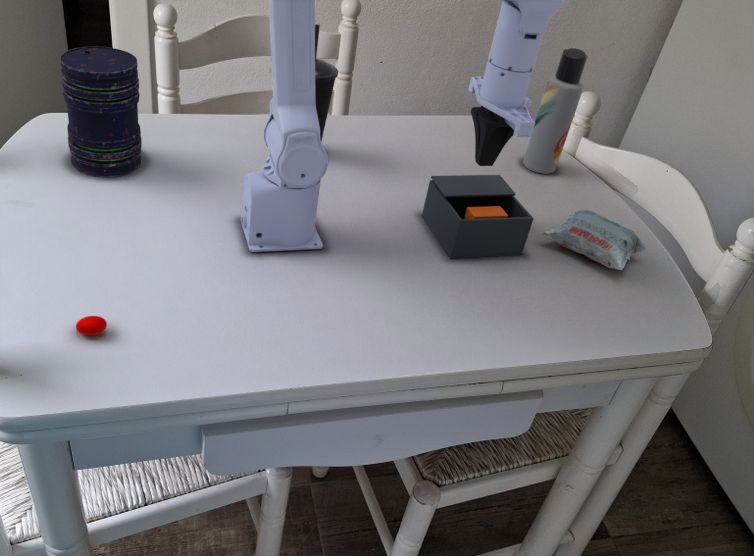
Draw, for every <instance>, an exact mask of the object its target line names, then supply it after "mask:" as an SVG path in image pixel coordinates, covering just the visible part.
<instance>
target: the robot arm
mask: <svg viewBox="0 0 754 556" xmlns="http://www.w3.org/2000/svg"><path fill="white" fill-rule="evenodd" d="M315 1H316V0H268V19H269V20H268V21H269V22H268V23H269V39H270V40H269V42H270V65H271V85H272V98H271V99H270V100H269V114H268V118H267V120H266V122H265V124H264V126H263V133H262V135H263V136H262V137H263V141H264V143H265V146H266V147H267V148H268V151H269V155H268V156H267V158H266V160H265V162H264V164H263V167H262V168H261V169H258V170H255V171H251V172H246V173H244V176H243V183H242V197H241V198H242V200H241V216H240V223H241V227H242V230H243V233H244V237H245V240H246V244H247V247H248V249H249V252H252V253H260V252H261V253H262V252H279V251H280V252H282V251H283V252H284V251H298V250H299V251H303V250H320V249H323V247H324V244H323V242H322V239H321V237H320V235H319V233H318V230H317V228H316V222H317V213H318V206H319V205H318V204H319V198H320V188H321V181H322V179H323V177H324V176H325V174H326V173H327V170H328V169H329V167H328V166H329V156H328V153H327V151H326V148H325V147H324V146H323V143H322V142H321V140H320V126H319V121H318V116H317V111H316V105H315V24H316V12H315V11H316V7H315V5H316V4H315V3H316V2H315ZM501 1H502V3H501V6H500V10H499V15H498V18H497V22H496V27H495V30H494V34H493V39H492V41H491V47H490V49H489V53H488V58H487V62H486V65H485V70H484V74H483V76H471V77H470V81H469V85H468V91H469V92H470V93H472V94H475V99H476V101H477V103H478V104H479V105H480V106H473V107H471V109H470V115H471V117H472V122H473V127H474V140H475V143H474V145H475V146H474V160H475V161H474V162H475V163H476V164H477V165H478V166H479V167H493V166H494V164H495V162H496V161H497V159H498V158H499V156H500V154H501V152H502V150H503V149H504V148H505V147H506V145H507V143H508V142H509V141H510V140H511V138H513V136H515V137H516V138H530V137H531V135H532V132H533V129H534V126H535V120H534V119H532V117H531V114H530V112H529V109H528V108H529V107H531V105H532V102H533V101H532V100H531V99H530V98H529V97H528V96H527V95H528V91H529V88H530V85H531V80H532V77H533V75H534V71H535V67H536V65H537V60H538V57H539V53H540V50H541V46H542V43H543V40H544V36H545V33H546V30H548V28H549V25H550V21H551V19H552V18H553V17H554V15H555V14H557V12H559V10H560V9H561V8H562V7H563V5H564V3H565V1H566V0H501Z"/></svg>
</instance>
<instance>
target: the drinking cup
mask: <svg viewBox="0 0 754 556" xmlns="http://www.w3.org/2000/svg"><path fill="white" fill-rule="evenodd" d="M320 27H321V25H320V24H317V23H315V105H316V111H317V116H318V121H319V126H320V140H321V143H322V141H323V137H324V131H325V127H326V123H327V119H328V113H329V108H330V105H331V101H332V95H333V91H334V87H335V83H336V78H338V77H339V70H338V68H337V67H336V66H335V65H333V64H331V63H329V62H327V61H325V60H323V59H320V58H317V57H318V56H317V55H318V46H319V38H320V37H319V35H320Z"/></svg>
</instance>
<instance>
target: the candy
mask: <svg viewBox="0 0 754 556" xmlns="http://www.w3.org/2000/svg"><path fill="white" fill-rule="evenodd" d="M107 327H108V322H107V321H106V319H105V318H104V317H102V316H99V315H88V316H84V317H82V318H80V319H79V320H78V321H77V322H76V324H75V329H76V331H77V332H78V333H79V334H81V335H85V336H94V335H99V334H102V333H103V332H104V331H105V330H106V329H107Z"/></svg>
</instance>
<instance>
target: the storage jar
mask: <svg viewBox="0 0 754 556" xmlns="http://www.w3.org/2000/svg"><path fill="white" fill-rule="evenodd" d="M59 61H60V63H59V64H60V66H61V68H60V71H61V76H60V78H61V87H62V90H63V91H62V95H63V99H64V102H66V110H67V120H68V123H67V128H66V129H67V143H68V148H69V154H70V155H71V156H70V163H71V166H72V167H73V168H74V170H76V171H77V172H78V173H80V174H83V175H87V176H91V177H96V178H97V177H98V178H117V177H122V176H126V175H129V174H132V173H134V172H135V171H137V170H138V169H139V168H140V167H141V166H142V163H143V161H142V159H143V158H142V155H141V154H142V146H143V144H142V143H143V142H142V131H141V125H140V124H139V107H138V104H139V101H140V96H141V94H140V79H139V71H138V67H139V66H138V58H137V57H136V55H134V54H132V53H130V52H129V51H126V50H123V49H119V48H115V47H108V46H82V47H76V48H72V49H69V50H67V51H64V52H63V53H61V55H60V57H59Z"/></svg>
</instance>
